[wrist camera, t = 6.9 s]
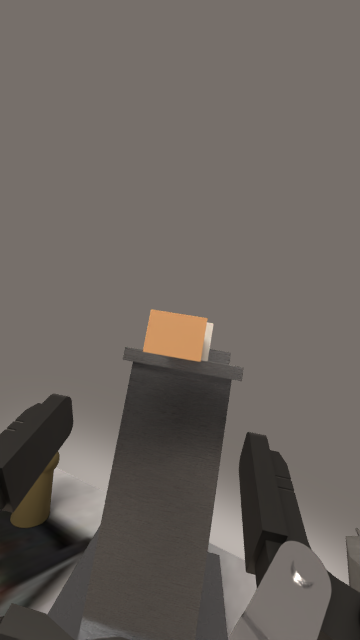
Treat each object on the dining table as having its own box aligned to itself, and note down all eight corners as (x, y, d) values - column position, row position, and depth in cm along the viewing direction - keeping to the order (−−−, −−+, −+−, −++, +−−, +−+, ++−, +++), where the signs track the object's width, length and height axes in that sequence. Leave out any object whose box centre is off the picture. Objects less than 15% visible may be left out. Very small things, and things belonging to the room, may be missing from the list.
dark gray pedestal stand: (34, 651, 25) (105, 326, 30) (97, 537, 41) (137, 337, 45) (229, 714, 23) (272, 354, 28) (217, 569, 39) (245, 356, 43)
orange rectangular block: (128, 349, 17) (142, 280, 18) (170, 354, 41) (175, 325, 42) (215, 364, 16) (226, 292, 17) (205, 360, 40) (210, 330, 41)
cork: (38, 500, 47) (52, 441, 49) (56, 516, 44) (70, 452, 45) (3, 514, 42) (20, 447, 44) (20, 533, 39) (37, 460, 40)
